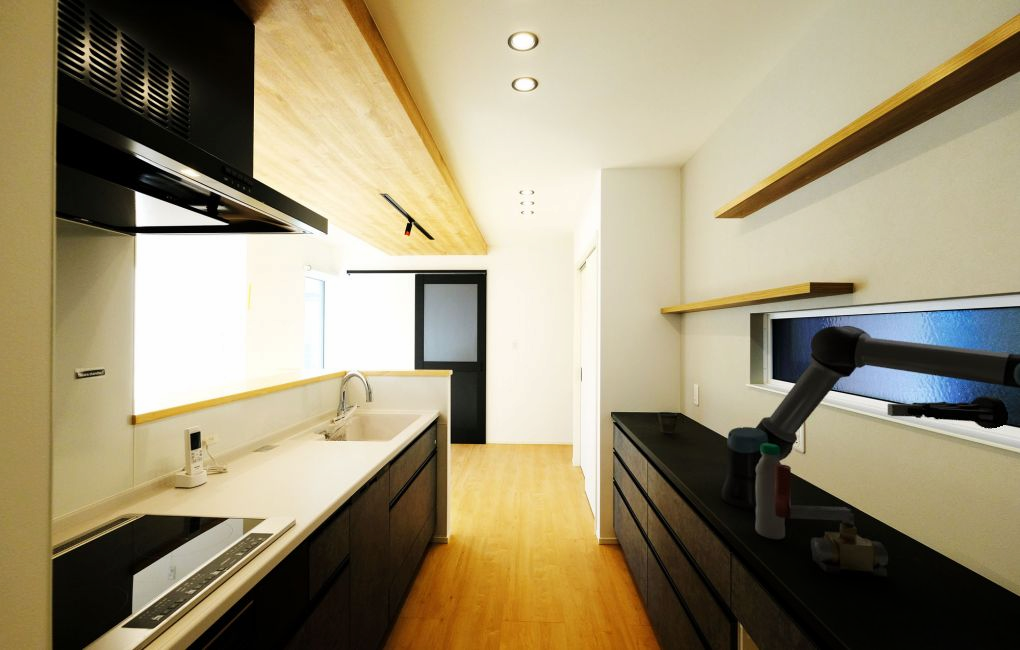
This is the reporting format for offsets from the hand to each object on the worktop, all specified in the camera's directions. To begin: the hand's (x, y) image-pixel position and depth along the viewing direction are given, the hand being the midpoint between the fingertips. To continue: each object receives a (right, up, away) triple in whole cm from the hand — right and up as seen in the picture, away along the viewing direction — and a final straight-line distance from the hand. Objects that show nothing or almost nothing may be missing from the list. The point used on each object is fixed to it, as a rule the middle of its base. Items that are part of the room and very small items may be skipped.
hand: (889, 409), depth 103 cm
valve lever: (-18, -28, 0) cm, 33 cm away
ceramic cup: (-4, -38, +129) cm, 135 cm away
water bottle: (-19, -38, +16) cm, 46 cm away
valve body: (-11, -38, -1) cm, 39 cm away
